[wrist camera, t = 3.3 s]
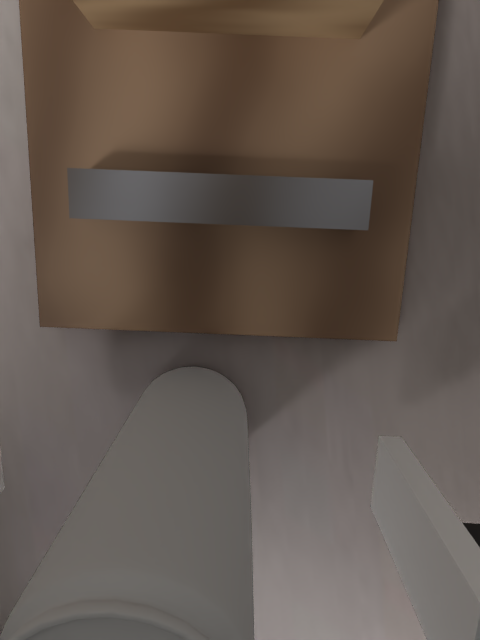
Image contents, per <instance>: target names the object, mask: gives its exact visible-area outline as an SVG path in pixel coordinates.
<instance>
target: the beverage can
mask: <svg viewBox="0 0 480 640" xmlns="http://www.w3.org/2000/svg"><path fill="white" fill-rule="evenodd" d="M0 640H254V606H253V563H252V523H251V493H250V470H249V448H248V423H247V411H246V408H245V404H244V401H243V398H242V396H241V394H240V393H239V391H238V390H237V388H236V386H235V385H234V384H233V383H232V382H230V381H229V380H228V379H227V378H226V377H225V376H223V375H221V374H219V373H217V372H215V371H213V370H211V369H206V368H201V367H180V368H177V369H174V370H171V371H168V372H165V373H164V374H162V375H161V376H159V377H158V378H156V379H155V380H153V381H152V383H151V384H150V385H149V386H148V387H147V388H146V389H145V391H144V392H143V394H142V395H141V397H140V399H139V400H138V402H137V404H136V405H135V407H134V409H133V410H132V412H131V414H130V415H129V417H128V419H127V420H126V422H125V424H124V425H123V427H122V429H121V430H120V432H119V434H118V435H117V437H116V439H115V440H114V442H113V444H112V445H111V447H110V449H109V450H108V452H107V454H106V455H105V457H104V459H103V460H102V462H101V464H100V465H99V467H98V469H97V470H96V472H95V474H94V475H93V477H92V479H91V480H90V482H89V483H88V485H87V487H86V488H85V490H84V492H83V493H82V495H81V497H80V498H79V500H78V502H77V503H76V505H75V507H74V508H73V510H72V512H71V513H70V515H69V517H68V518H67V520H66V522H65V523H64V525H63V527H62V528H61V530H60V532H59V533H58V535H57V537H56V538H55V540H54V542H53V543H52V545H51V547H50V548H49V550H48V552H47V553H46V555H45V557H44V558H43V560H42V562H41V563H40V565H39V566H38V568H37V570H36V571H35V573H34V575H33V576H32V578H31V580H30V581H29V583H28V585H27V586H26V588H25V590H24V591H23V593H22V595H21V596H20V598H19V600H18V601H17V603H16V605H15V606H14V608H13V610H12V611H11V613H10V615H9V617H8V619H7V621H6V623H5V626H4V628H3V630H2V632H1V635H0Z"/></svg>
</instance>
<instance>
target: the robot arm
mask: <svg viewBox="0 0 480 640" xmlns="http://www.w3.org/2000/svg"><path fill="white" fill-rule="evenodd" d="M4 489H5V488H4V478H3V467H2V457H1V446H0V493H1V492H2V491H3V490H4ZM370 507H371V509H372V512H373V514H374V516H375V519H376V521H377V523H378V526H379V528H380V530H381V533H382V535H383V537H384V540H385V542H386V545H387V547H388V549H389V552H390V554H391V556H392V559H393V561H394V563H395V566H396V568H397V570H398V573H399V575H400V578H401V580H402V582H403V585H404V587H405V589H406V592H407V594H408V596H409V599H410V601H411V603H412V606H413V608H414V611H415V613H416V615H417V618H418V620H419V622H420V625H421V627H422V629H423V632H424V634H425V636H426V639H427V640H480V524H472V523H462V522H461V520H460V519H459V517H458V516H457V515H456V513H455V512H454V510H453V509H452V508H451V506H450V505H449V503H448V502H447V500H446V499H445V498H444V496H443V495H442V493H441V492H440V491H439V489H438V488H437V486H436V485H435V483H434V482H433V481H432V479H431V478H430V476H429V475H428V474H427V472H426V471H425V469H424V468H423V466H422V465H421V464H420V462H419V461H418V459H417V458H416V457H415V455H414V454H413V452H412V451H411V449H410V448H409V447H408V445H407V444H406V442H405V441H404V440H403V438H402V437H398V436H379V439H378V448H377V456H376V464H375V472H374V480H373V488H372V496H371V504H370Z"/></svg>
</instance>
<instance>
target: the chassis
mask: <svg viewBox="0 0 480 640" xmlns="http://www.w3.org/2000/svg"><path fill="white" fill-rule="evenodd" d="M438 2H439V0H19V9H20V24H21V40H22V55H23V71H24V86H25V102H26V118H27V133H28V149H29V164H30V180H31V195H32V211H33V227H34V242H35V258H36V273H37V289H38V304H39V320H40V327H61V328H85V329H110V330H134V331H158V332H183V333H207V334H231V335H256V336H280V337H305V338H329V339H353V340H378V341H397V334H398V326H399V317H400V309H401V301H402V293H403V285H404V277H405V269H406V261H407V253H408V245H409V237H410V229H411V221H412V212H413V204H414V196H415V188H416V180H417V172H418V164H419V156H420V148H421V140H422V132H423V124H424V115H425V107H426V99H427V91H428V83H429V75H430V67H431V59H432V51H433V43H434V35H435V27H436V18H437V10H438Z"/></svg>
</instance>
